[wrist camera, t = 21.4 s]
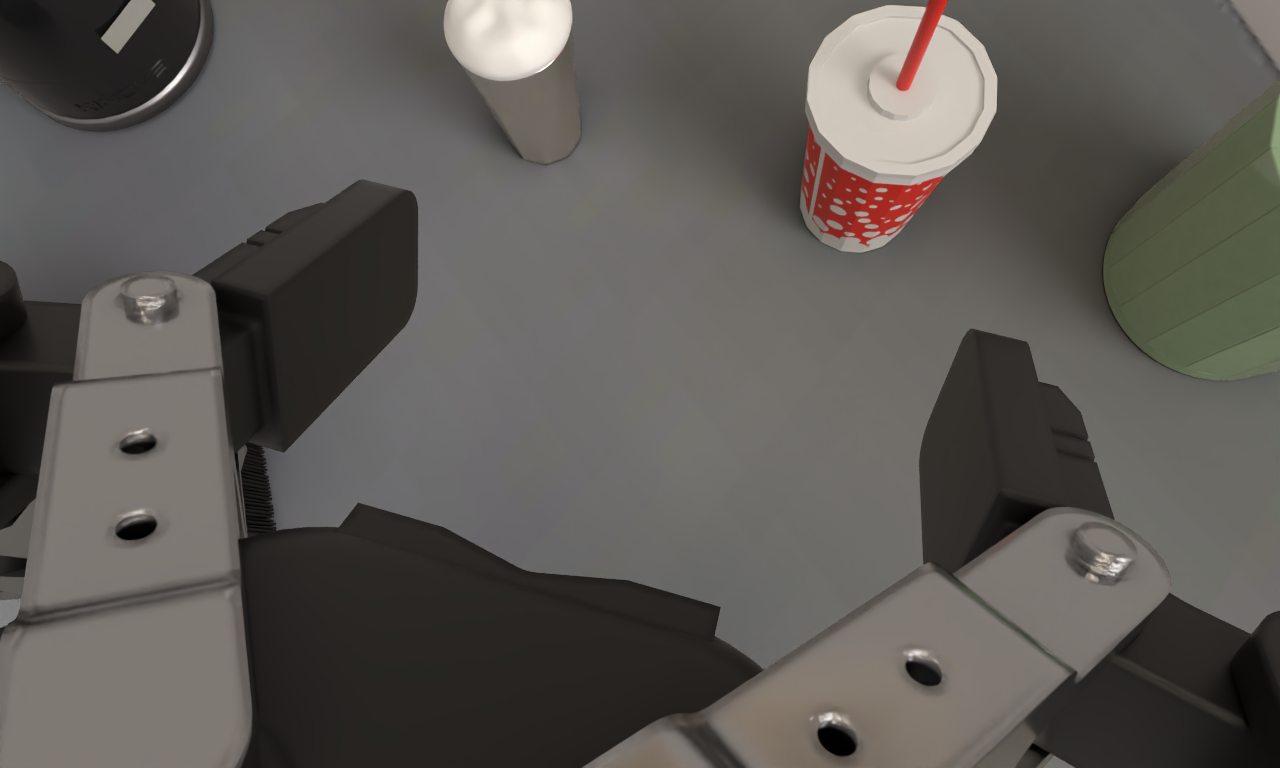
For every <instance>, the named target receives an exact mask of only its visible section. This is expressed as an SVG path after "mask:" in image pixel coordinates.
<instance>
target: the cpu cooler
mask: <svg viewBox="0 0 1280 768" xmlns="http://www.w3.org/2000/svg"><path fill="white" fill-rule="evenodd" d="M259 447H262V446H259V445H256V444H252V443H249V442H247V443H246V444H245V445H244V446H243V447H242V448H241V449H240V450H239V451H238V457H239V464H240V471H241V480H242V489H243V498H244V507H245V517H246V526H247V535H248V537H250V536H254V535H257V534H261V533H267V532H272V531H277V530H273V529H276V527H270V526H274V525H276V523H270V522H273V520H265V519H267V518H271V517H274V516H269V515H273V514H274V512H269V511H273V510H274V509H273V508H271V507H273V505H268V504H271V503H269V502H265V501H269V500H272V498H269V496H271V494H268V493H271V491H268V489H270V487H267V486H269V485H270V484H269V483H266V482H269V480H267V478H268V476H265V475H261V474H265V473H267V472H265V471H267V469H265V468H264V467H266V466H262V465H264V464H266V462H264V460H266V459H265V458H262V457H263V456H264V455H260V454H263V453H265V452H264V451H262V449H263V448H259ZM35 502H36V499H35V500H33V501H32V502H31V503H30V504H29V505H28V506H27V507H25V508H24V509H23V510H22V511H21V512H20V513H19V514H17V515H16V516H15V517H14V518H13V519H12V520H11V521H9V522H8V523H7V524H6V525H5V526H4V527H3V528H1V529H0V600H8V599H21V598H22V592H23V585H24V578H25V571H26V564H27V557H28V551H29V544H30V537H31V530H32V523H33V516H34V509H35Z"/></svg>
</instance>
